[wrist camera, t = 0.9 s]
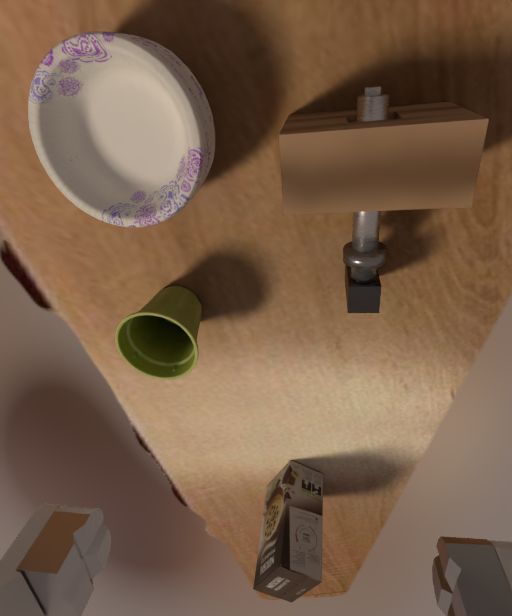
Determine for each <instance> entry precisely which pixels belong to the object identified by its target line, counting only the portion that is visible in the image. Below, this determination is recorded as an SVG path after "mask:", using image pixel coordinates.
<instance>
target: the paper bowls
mask: <svg viewBox="0 0 512 616" xmlns="http://www.w3.org/2000/svg"><path fill="white" fill-rule="evenodd" d="M28 119H29V127H30V132H31V136H32V140H33V144H34V147H35V149H36V152H37V155H38V157H39V159H40V161H41V163H42V165H43V167H44V169H45V170H46V172H47V174H48V175H49V177H50V178H51V180H52V181H53V182H54V184H55V185H56V186H57V187H58V189H59V190H60V191H61V192H62V193H63V194H64V195H65V196H66V197H67V198H68V199H69V200H70V201H71V202H72V203H73V204H75V205H76V206H77V207H79V208H80V209H81V210H83V211H84V212H86V213H87V214H89V215H91V216H93V217H95V218H96V219H99V220H101V221H104V222H106V223H110V224H113V225H118V226H123V227H146V226H151V225H154V224H158V223H160V222H163V221H165V220H167V219H169V218H171V217H172V216H174V215H175V214H176V213H178V212H179V211H180V210H181V209H183V207H184V206H185V205H186V204H187V203H188V202H189V201H190V200H191V199H192V198H193V196H194V195H195V194H196V193H197V192H198V190H199V189H200V187H201V186H202V184H203V183H204V181H205V179H206V177H207V175H208V173H209V171H210V168H211V166H212V163H213V159H214V153H215V128H214V121H213V115H212V112H211V108H210V106H209V103H208V100H207V98H206V96H205V93H204V91H203V89H202V87H201V85H200V84H199V83H198V81H197V79H196V77H195V76H194V75H193V73H192V72H191V71H190V69H189V68H188V67H187V66H186V65H185V64H184V63H183V62H182V61H181V60H180V59H179V58H178V57H177V56H176V55H175V54H174V53H173V52H172V51H170V50H168V49H167V48H165V47H164V46H162V45H160V44H158V43H156V42H154V41H151V40H148V39H145V38H143V37H139V36H135V35H129V34H123V33H113V32H99V31H92V32H85V33H80V34H78V35H74V36H71V37H69V38H67V39H65V40H62V41H61V42H60V43H58V44H57V45H56V46H55V47H53V49H51V50H50V51H49V52H48V53H47V55H46V56H45V57H44V58H43V60H42V62H41V63H40V65H39V67H38V69H37V70H36V72H35V75H34V78H33V80H32V83H31V88H30V91H29V100H28Z"/></svg>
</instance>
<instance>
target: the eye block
mask: <svg viewBox="0 0 512 616" xmlns="http://www.w3.org/2000/svg"><path fill="white" fill-rule="evenodd" d="M488 122H489V118H486V117H484V116H482V115H479V114H477V113H475V112H472V111H470V110H468V109H466V108H463V107H461V106H459V105H456V104H454V103H452V102H439V103H427V104H415V105H403V106H391V107H389V110H388V120H375V121H363V122H357V109H356V110H344V111H333V112H321V113H309V114H297V115H289V116H288V118H287V120H286V122H285V124H284V126H283V128H282V130H281V132H280V134H279V144H280V161H281V178H282V195H283V212H284V215H295V214H318V213H342V212H366V211H389V210H413V209H436V208H460V207H472V202H473V197H474V192H475V187H476V182H477V177H478V172H479V167H480V162H481V157H482V152H483V147H484V142H485V137H486V132H487V127H488Z"/></svg>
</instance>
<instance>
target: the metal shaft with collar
mask: <svg viewBox="0 0 512 616" xmlns="http://www.w3.org/2000/svg"><path fill="white" fill-rule="evenodd" d="M389 97H390V94H387V93H381V86H372V87H364V95H361V96H358V98H357V122H363V121H375V120H388V110H389ZM380 216H381V211H366V212H353V232H352V242H349V243H347V244H346V245H345V246H344V247H343V262H344V263H345V287H346V298H347V309H348V313H379V307H380V295H381V283H380V279H379V275H378V271H377V268H378V267H380V266H382V265H384V264H385V262H386V254H387V247H386V246H385V245H384V244H383V243H381V242H379V229H380Z"/></svg>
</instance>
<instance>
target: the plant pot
mask: <svg viewBox="0 0 512 616" xmlns="http://www.w3.org/2000/svg"><path fill="white" fill-rule="evenodd" d="M201 314H202V305H201V303H200V302H199V300H198V299H197V297H196V295H195V294H194V293H193V292H192V291H190V290H188V289H186V288H184V287H180V286H170V287H167V288H164V289H162V290H161V291H159V292H158V293H157V294H156V295H155V296H154V297H153V298H152V299H151V301H150V302H148V303H147V304H146V305H145V306H144V307H143V308H142V309H141V310H140V311H138V312H136V313H133V314H131V315H129V316H127V317H126V318H124V319H123V320H122V321H121V323H120V324H119V325H118V327H117V329H116V333H115V342H116V345H117V348H118V351H119V353H120V355H121V356H122V358H123V359H124V360H125V361H126V362H127V363H128V364H129V365H130V366H131V367H133V368H134V369H135V370H137V371H138V372H140V373H142V374H144V375H146V376H150V377H152V378H156V379H163V380H170V379H177V378H181V377H183V376H185V375H187V374H188V373H190V372H191V371H192V370H193V369H194V367H195V365H196V363H197V360H198V345H197V334H198V329H199V324H200V320H201Z"/></svg>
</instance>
